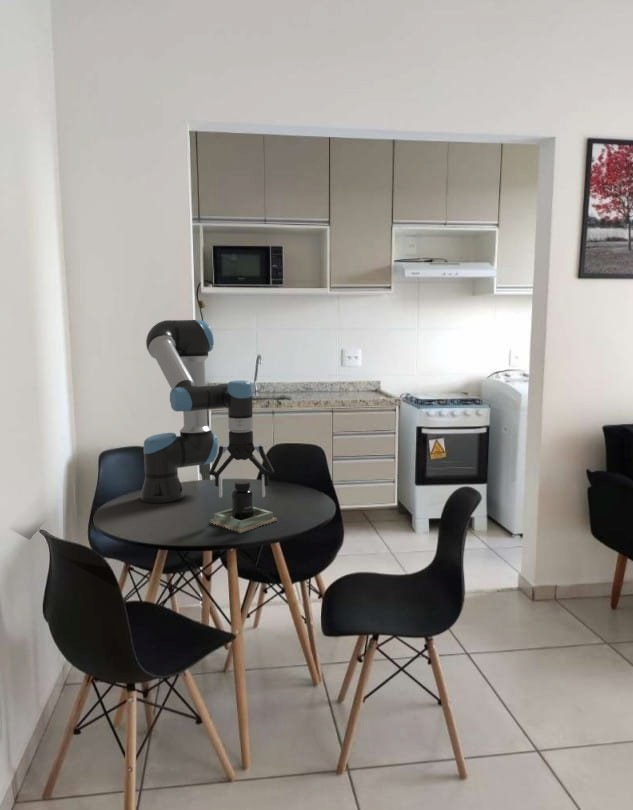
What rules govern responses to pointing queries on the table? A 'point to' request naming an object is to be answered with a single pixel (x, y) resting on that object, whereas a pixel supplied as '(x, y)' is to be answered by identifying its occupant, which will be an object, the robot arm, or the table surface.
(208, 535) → the table surface
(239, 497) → the supplement bottle
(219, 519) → the green square tray
